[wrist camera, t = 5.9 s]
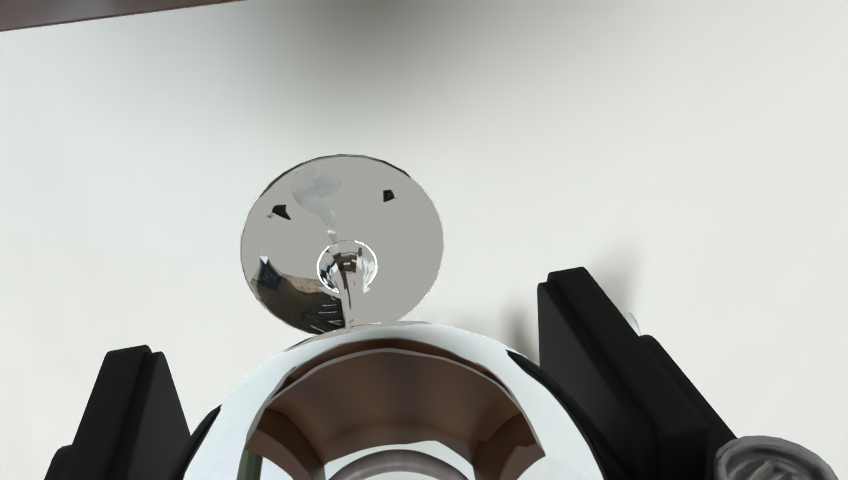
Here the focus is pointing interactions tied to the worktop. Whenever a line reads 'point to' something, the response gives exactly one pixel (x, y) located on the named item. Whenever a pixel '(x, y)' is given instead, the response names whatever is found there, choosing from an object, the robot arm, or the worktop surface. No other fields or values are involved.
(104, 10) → the rack
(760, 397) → the worktop surface
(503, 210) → the worktop surface
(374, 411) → the wineglass
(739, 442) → the robot arm
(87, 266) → the worktop surface
